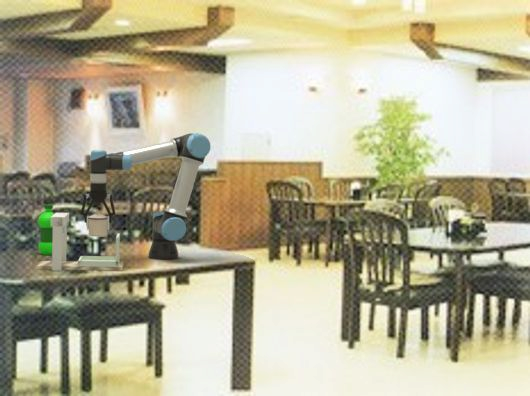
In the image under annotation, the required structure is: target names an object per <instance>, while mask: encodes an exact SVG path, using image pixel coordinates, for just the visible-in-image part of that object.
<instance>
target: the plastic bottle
mask: <svg viewBox="0 0 530 396" xmlns="http://www.w3.org/2000/svg"><path fill="white" fill-rule="evenodd" d="M43 207H44V209H45V210H44V212H43V213H41V215H39V217H38V219H37V224H38V226H39V227H40V230H39V231H40V233H39V235H40V236H39V238H40V239H39V243H38V245H37V248H38V251H39V252H40V253H41V254H42V255H44V256H52V243H53V226H51V216H53V215H54V214H55V213H54V212H53V209H54V204H44V206H43Z"/></svg>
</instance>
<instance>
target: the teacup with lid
mask: <svg viewBox="0 0 530 396" xmlns="http://www.w3.org/2000/svg"><path fill="white" fill-rule="evenodd" d="M88 216H89V218H88V219H89V230H88V236H89V237H93V238H94V237H95V238H97V237H99V238H101V237H107V236H108V230H107V219H108V218H107V216H108V215H107V216H106V215H104V214H102V213H101V211H99V210H98V211H97V210H96V211H95V213H93V214H92V215H88ZM85 225H86V228H87V223H85Z"/></svg>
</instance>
